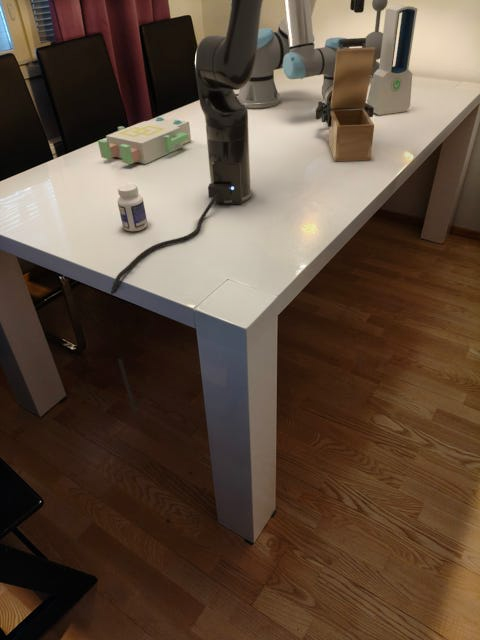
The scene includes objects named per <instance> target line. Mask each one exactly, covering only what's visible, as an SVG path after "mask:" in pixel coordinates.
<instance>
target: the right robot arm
mask: <svg viewBox="0 0 480 640" xmlns="http://www.w3.org/2000/svg"><path fill="white" fill-rule="evenodd" d="M283 2H284V3H283V4H284V12H285V17H284V18H282V19H281V20H280V22H279V24H278V28H277V31H274V29H273V28H271V27H263V28H259V32H258V41H257V50H256V58H255V64H254V69H253V72H252V75H251V78H250V80H249V81H248V83H247V84H246V85H245V86H244V87H243V88H241V89H239V92H238V93H235V94H236V96H237V97H238V98H239V100H241V101H242V102H243V103H244V104H245V105H246V107H247V109H250V110H251V109H252V110H253V109H254V110H255V109H259V110H260V109H266V108H271V107H274V106H277V105H279V103H280V92H278V90H277V86H276V83H275V75H274V73H275V72H274V71H275V70H280V69H281V70H282V71H283V73H284V75H285V77H286V78H287V79H289V80H303V79H305V78H310V77H315V76H321V75H323V83H322V86H321V96H322V99H323V100H324V102H323V101H319V100H318V102H317V107H316V108H315V120H320V119H321V123H326V124H327V127H328V128H330V127H331V118H332V116H331V114H330V111H331V110H345V109H365V111H366V112H367V114H368V116H369V117H370V118H373V117H374V112H373V111H374V107H372V106H370V105H368V104H367V102H366V103H365V107H362V108H338V109H331V98H332V89H333V81H334V72H335V63H336V54H337V49H340V47H338V43H339V39H347V38H346V37H341V36H339V37H329V38H327V39H325V42H324V47H318V48H315V46H316V45H315V43H314V42H315V36H314V31H313V19H312V17H313V13H314V10H315V6H316V2H317V0H283ZM346 48H350V47H343V49H346Z"/></svg>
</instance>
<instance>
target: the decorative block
mask: <svg viewBox="0 0 480 640" xmlns="http://www.w3.org/2000/svg"><path fill="white" fill-rule="evenodd" d="M190 127H191V126H190V121H188V120H184V119H183V120H182V119H177V118H176V119H175V118H172V117H164V116H158V117H156V118H154V119H151V120H149V121H147V120H143V121H141V122H138V123H136V124H133V125H131V126H128V127H125V126H122V125H121V126H118V127H117V130H116V131H114V132H112V133H109V134H107V135H105V138H106V139H99V140H97V143H98V148H99V152H100V157H101V158H103V159H106V160H110V159H113V158H118V159H121V163H123V164H126V165H131V164H134V163H139V164H143V165H147V164H149V163H151V162H153V161H156V160H157V159H160V158H162V157H164V156H166V155H169V154H171V153H173V152H175V151H177V150H179V149H182V148H183V145H185V144H187V143H189V142H191V141H192V137H191V128H190Z"/></svg>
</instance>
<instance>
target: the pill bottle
mask: <svg viewBox="0 0 480 640" xmlns="http://www.w3.org/2000/svg"><path fill="white" fill-rule="evenodd" d="M117 193H118V196H119V197H118V199H117V206H118V210H119V211H118V212H119V215H120V219H121V224H122V227H123V229H124V230H125V231H128V232H138V231H141V230H144V229H146V227H147V226H148V217H147V214H146V208H145V203H144V198H143V196H142V195H141V194H139V188H138V185H137V184H135V183H132V182H131V183H123V184H121V185H119V186H118V187H117Z"/></svg>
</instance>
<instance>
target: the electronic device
mask: <svg viewBox="0 0 480 640" xmlns="http://www.w3.org/2000/svg"><path fill="white" fill-rule="evenodd" d="M400 14H401V18H400ZM417 14H418V8H417V7H414V6H409V5H404V4H392V5H389V6H387V7H386V8H385V14H384V21H383V22H384V23H383V30H382V33H383V38H382V47H381V56H380V59H379V63H380V65H379V69H378V70H377V71H376V72H375V73H374V75H373V76H372V79H371V83H370V88H369V91H368V94H367V98H366V103H367V104H368V105H370V106H372V107H374V111H373V114H376V115H378V116H382V115H383V116H384V115H389V114H396V113H397V114H398V113H403V112H407V111H408V110H410V108H411V101H412V100H411V98H412V85H413V73H412V71H411V70H410V69H409V68H410V63H411V62H410V61H411V55H412V48H413V42H414V41H413V40H414V34H415V28H416V22H417V16H418V15H417ZM399 22H400V26H399ZM398 28H399V32H398ZM398 33H399V34H398ZM397 36H398V37H397ZM397 38H398V41H397ZM396 44H397V45H396ZM396 46H397V47H396ZM395 51H396V57H395ZM394 59H395V64H394Z"/></svg>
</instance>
